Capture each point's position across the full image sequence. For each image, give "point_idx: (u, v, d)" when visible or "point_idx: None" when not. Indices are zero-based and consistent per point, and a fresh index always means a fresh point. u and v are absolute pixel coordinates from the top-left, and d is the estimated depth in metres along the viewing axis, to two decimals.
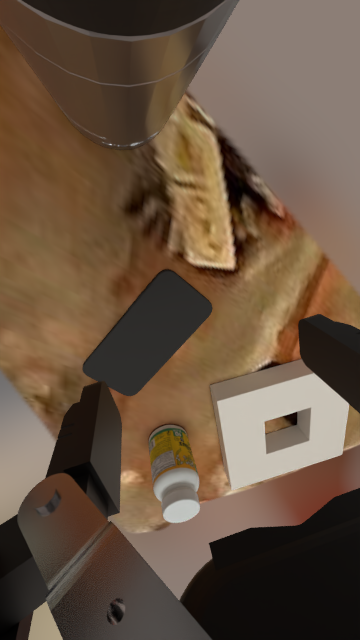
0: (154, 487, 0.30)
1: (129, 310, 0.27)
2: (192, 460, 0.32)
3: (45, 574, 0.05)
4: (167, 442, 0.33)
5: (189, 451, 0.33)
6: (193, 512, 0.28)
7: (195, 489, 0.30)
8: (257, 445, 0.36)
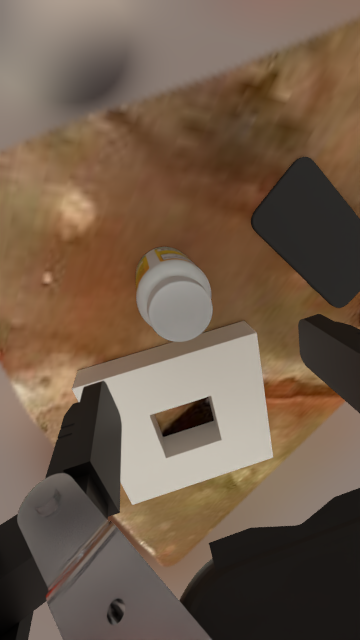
0: (180, 261, 0.18)
1: None
2: None
3: (44, 573, 0.05)
4: None
5: None
6: (172, 333, 0.17)
7: None
8: (170, 398, 0.27)
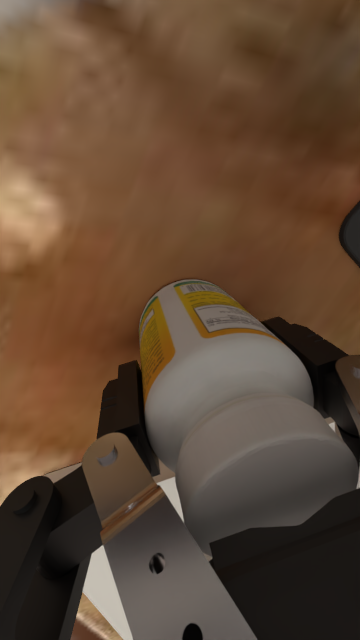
0: (253, 339, 0.07)
1: None
2: None
3: (100, 513, 0.05)
4: None
5: None
6: None
7: None
8: None
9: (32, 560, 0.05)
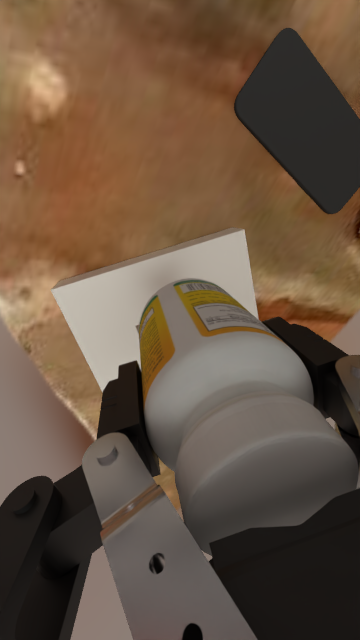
0: (253, 337, 0.07)
1: (351, 109, 0.24)
2: None
3: (100, 513, 0.05)
4: None
5: None
6: None
7: None
8: None
9: (32, 560, 0.05)
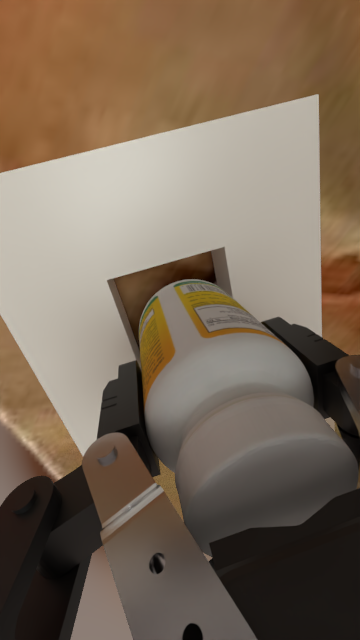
0: (253, 339, 0.07)
1: None
2: None
3: (99, 514, 0.05)
4: None
5: None
6: None
7: None
8: (146, 243, 0.14)
9: (32, 560, 0.05)
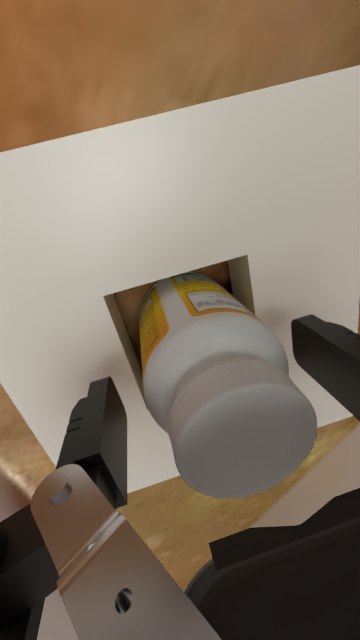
0: (235, 316, 0.09)
1: None
2: None
3: (55, 560, 0.05)
4: None
5: None
6: (226, 486, 0.07)
7: None
8: (152, 251, 0.11)
9: None
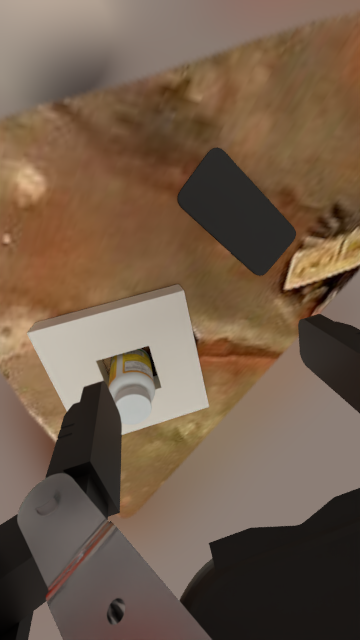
0: (134, 373, 0.29)
1: (269, 201, 0.32)
2: None
3: (44, 574, 0.05)
4: (151, 368, 0.34)
5: None
6: (128, 420, 0.28)
7: None
8: (113, 346, 0.32)
9: None
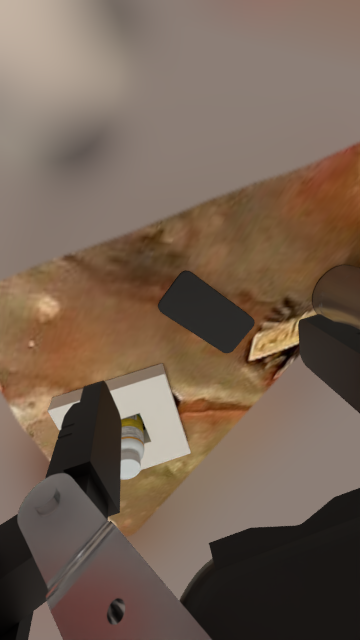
0: (128, 440, 0.39)
1: (230, 302, 0.41)
2: None
3: (45, 574, 0.05)
4: (142, 428, 0.44)
5: None
6: (123, 476, 0.38)
7: None
8: None
9: None
